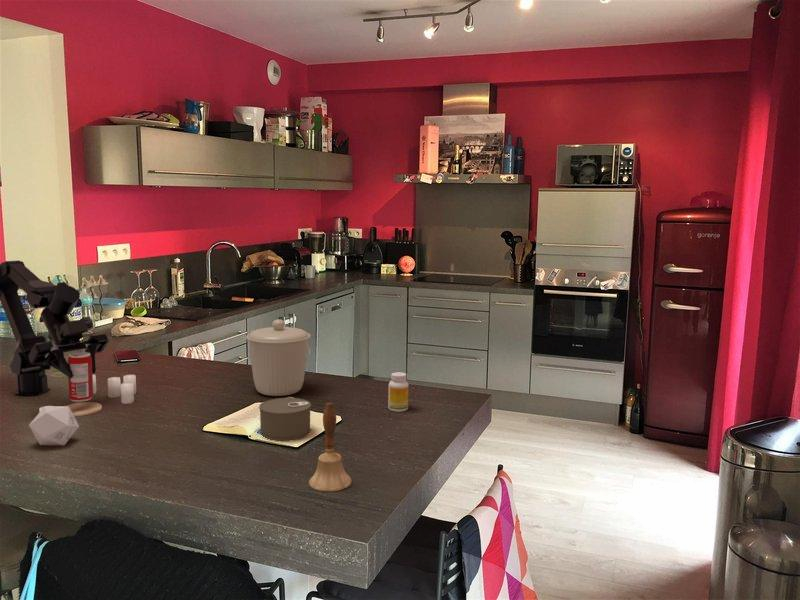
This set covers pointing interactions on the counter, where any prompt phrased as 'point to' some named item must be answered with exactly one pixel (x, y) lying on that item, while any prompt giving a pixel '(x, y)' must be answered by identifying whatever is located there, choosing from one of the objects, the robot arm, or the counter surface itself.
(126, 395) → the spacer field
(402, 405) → the supplement bottle
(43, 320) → the robot arm
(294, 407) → the can
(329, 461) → the hand bell
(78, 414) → the coaster
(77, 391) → the soda can
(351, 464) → the counter surface
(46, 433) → the die
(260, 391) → the canister
